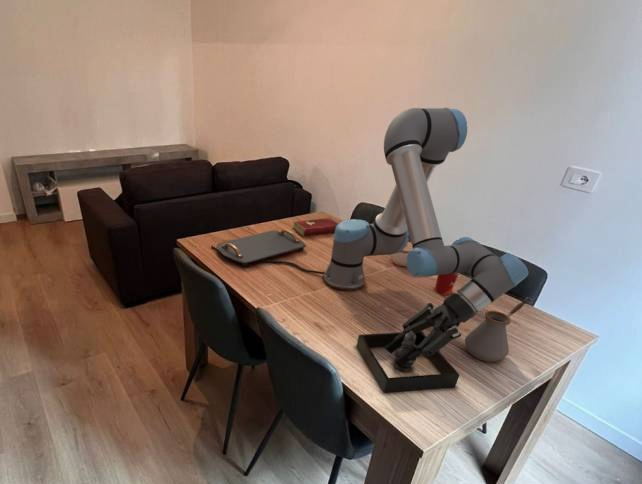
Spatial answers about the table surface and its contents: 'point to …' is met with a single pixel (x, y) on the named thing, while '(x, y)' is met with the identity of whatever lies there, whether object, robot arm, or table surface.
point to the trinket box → (402, 255)
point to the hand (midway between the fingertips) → (392, 357)
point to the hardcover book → (315, 226)
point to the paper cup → (445, 283)
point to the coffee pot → (491, 335)
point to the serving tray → (260, 246)
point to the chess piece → (406, 345)
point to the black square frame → (409, 383)
